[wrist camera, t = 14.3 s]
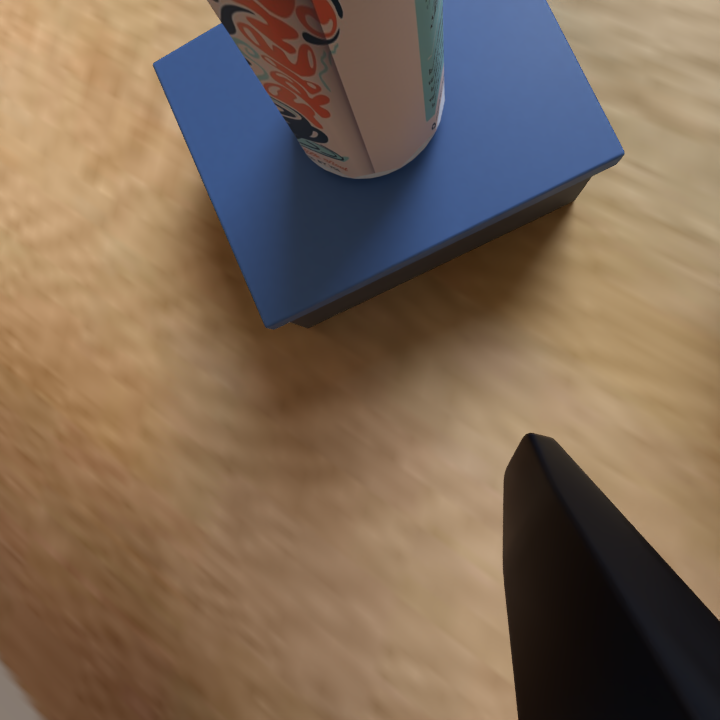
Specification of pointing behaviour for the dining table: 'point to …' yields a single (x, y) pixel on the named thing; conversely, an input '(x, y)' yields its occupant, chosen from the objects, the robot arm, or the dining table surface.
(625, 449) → the dining table surface
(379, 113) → the beer can
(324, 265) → the container
